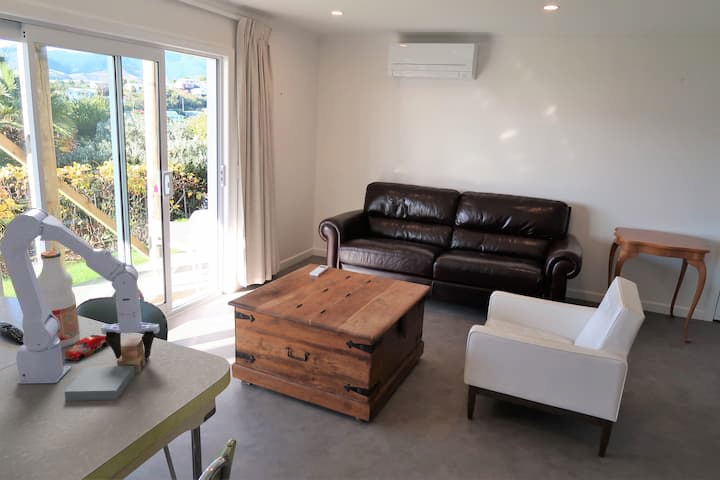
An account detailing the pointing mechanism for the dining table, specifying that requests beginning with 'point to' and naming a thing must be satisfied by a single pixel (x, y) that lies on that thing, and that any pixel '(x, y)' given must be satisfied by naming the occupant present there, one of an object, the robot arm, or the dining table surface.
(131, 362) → the tan boxy piece
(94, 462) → the dining table surface
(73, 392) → the dock
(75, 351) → the race car
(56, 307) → the fruit juice
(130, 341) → the salmon pink block
